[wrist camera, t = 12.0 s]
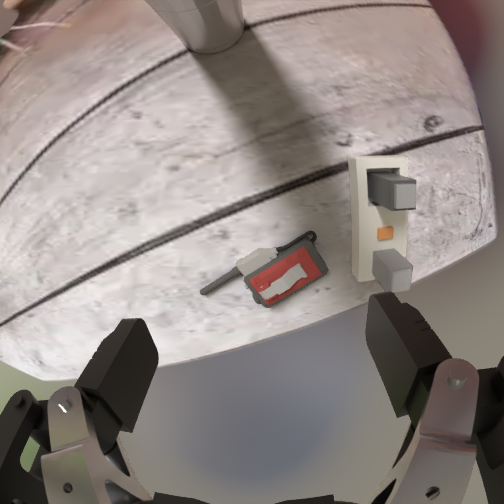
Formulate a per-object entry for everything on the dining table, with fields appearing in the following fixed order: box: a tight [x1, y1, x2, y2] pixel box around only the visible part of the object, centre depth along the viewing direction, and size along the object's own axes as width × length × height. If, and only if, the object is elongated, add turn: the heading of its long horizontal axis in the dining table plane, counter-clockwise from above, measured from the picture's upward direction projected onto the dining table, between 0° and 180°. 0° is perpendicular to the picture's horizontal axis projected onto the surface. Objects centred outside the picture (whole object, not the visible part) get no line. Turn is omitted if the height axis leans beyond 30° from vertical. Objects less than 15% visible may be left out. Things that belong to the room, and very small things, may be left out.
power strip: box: [348, 155, 413, 293], centre depth 33 cm, size 18×8×10 cm, turn 8°
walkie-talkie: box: [200, 231, 328, 308], centre depth 40 cm, size 9×4×20 cm
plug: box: [367, 172, 416, 211], centre depth 31 cm, size 4×4×9 cm
